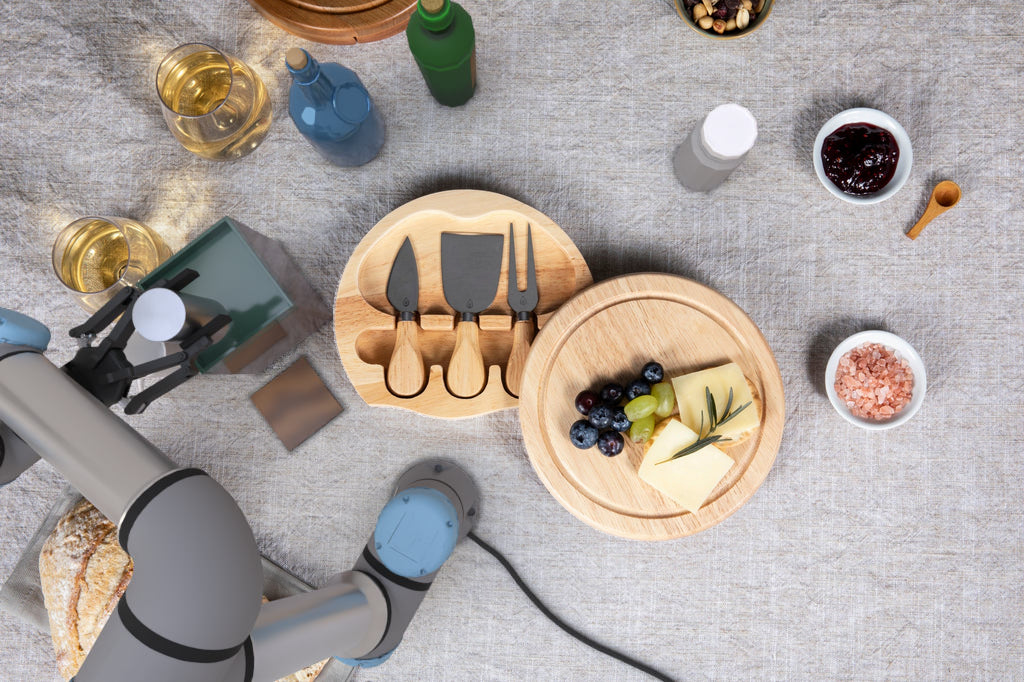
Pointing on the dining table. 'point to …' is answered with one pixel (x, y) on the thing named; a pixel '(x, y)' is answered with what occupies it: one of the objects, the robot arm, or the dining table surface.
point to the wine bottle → (333, 110)
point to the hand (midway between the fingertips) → (209, 294)
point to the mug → (149, 355)
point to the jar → (715, 147)
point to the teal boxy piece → (246, 296)
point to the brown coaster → (296, 403)
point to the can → (174, 315)
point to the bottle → (444, 50)
